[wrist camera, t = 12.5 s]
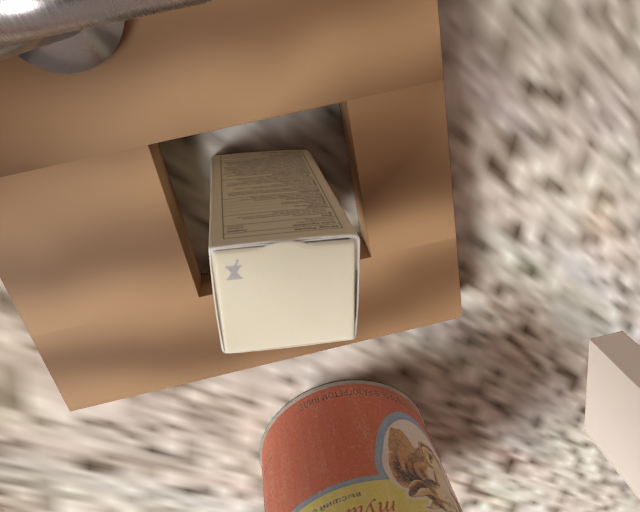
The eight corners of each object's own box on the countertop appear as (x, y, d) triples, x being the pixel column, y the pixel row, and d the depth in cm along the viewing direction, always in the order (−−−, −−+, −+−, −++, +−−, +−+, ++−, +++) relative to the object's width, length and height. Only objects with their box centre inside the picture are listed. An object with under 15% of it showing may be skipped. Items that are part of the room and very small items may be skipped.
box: (218, 232, 29) (212, 358, 19) (210, 152, 27) (198, 246, 17) (317, 225, 30) (359, 344, 20) (315, 146, 28) (362, 234, 18)
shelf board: (-144, -72, 21) (-185, -78, 19) (403, -180, 22) (421, -197, 20) (80, 382, 32) (70, 411, 30) (447, 295, 33) (462, 316, 31)
